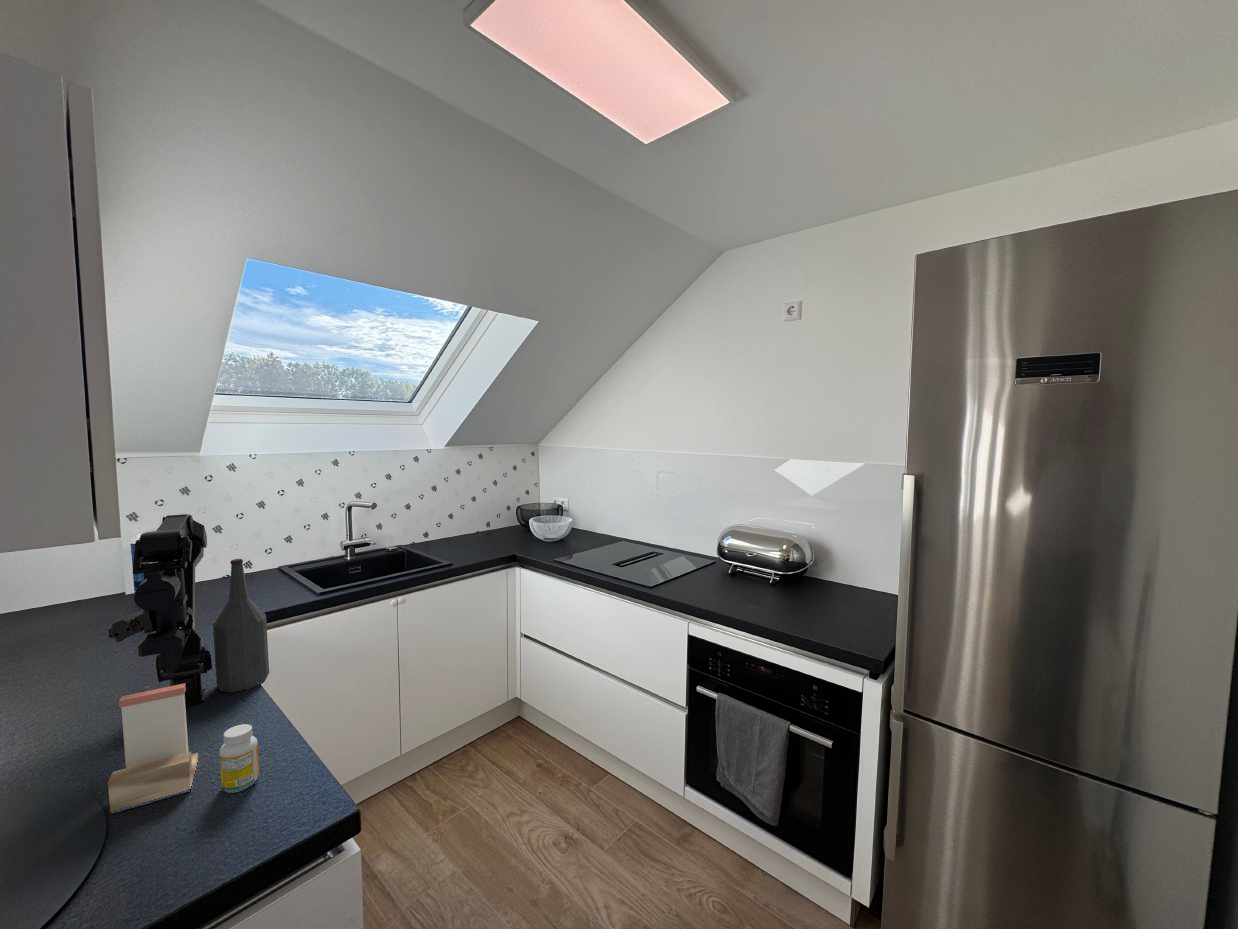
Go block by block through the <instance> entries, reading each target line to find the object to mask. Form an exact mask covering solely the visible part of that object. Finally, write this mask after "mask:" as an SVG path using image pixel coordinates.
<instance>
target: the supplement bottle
mask: <svg viewBox="0 0 1238 929" xmlns="http://www.w3.org/2000/svg"><path fill="white" fill-rule="evenodd" d="M253 734H254V731H253V725H251V724H249V723H248V724H247V723H245V724H238V725H235V726H232V727H230V728H227V729H226V730H225V731H224V732H223V744H222V745H221V747H220V749H219V768H220V769H219V770H220V783H221V784H220V785H221V789H222V788H223V789H225V790H234V789H239V788H242V787H245V786H247V785H248V784H250V783H252V782H254V781H255V780H256V779H257V778H258V776H259V777H260V769H259V768H260V764H259V744H258V739H257V737H255V736H254V735H253Z"/></svg>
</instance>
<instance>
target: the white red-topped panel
mask: <svg viewBox="0 0 1238 929" xmlns="http://www.w3.org/2000/svg"><path fill="white" fill-rule="evenodd" d="M185 691H186V685H185V683H184V684H179V685H174V686H170V687H169V686H165V687H160V688H156V689H151V690H150V689H149V690H145V691H140V692H135V693H132V694H131V693H130V694H126V695H121V696H120V698H119V700H118V703H119V704H118V706H119V708H120V709H121V719H122V720H121V722H122V732H123V734H122V735H123V744H124V745H123V746H124V757H125V758H124V760H125V769H126V768H130V767H133V766H137V765H141V764H145V763H149V762H153V761H157V760H161V759H164V758H168V757H172V756H176V755H180V754H184V753H188V752H189V742H188V740H189V739H188V727H187V712H186V711H187V710H186V706H185Z"/></svg>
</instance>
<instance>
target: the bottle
mask: <svg viewBox="0 0 1238 929" xmlns="http://www.w3.org/2000/svg"><path fill="white" fill-rule="evenodd" d="M229 563H230V565H231V567H230V580H229V581H230V582H229V594H228V601H227V602H226V604H225V605H224V608H223V609H222V610H221V612H220V613H219V615H218V617H217V619H216V620H215V622H214V623H213V625H212V631H213V649H214V650H213V651H214V663H215V664H214V665H215V666H214V667H215V676H216V677H215V678H216V679H215V680H216V688H217V689H219V691H220V692H223V691H228V692H227V693H230V692H233V693H235V692H234V691H239V692H243V691H242V690H245V691H248V690H250V689H253V688H256V687H258V686H261V685H262V684H263V683H265V682H266V680H267V679H268V676H269V674H270V667H269V666H270V664H269V663H270V662H269V660H270V659H269V644H268V642H269V641H268V626H267V625H268V622H267V615H266V613H265V612H264V611H263V610H262V609H261V608H260V607H259V606H258V605H257V604H256V603H255V602H254V601H253V600H252V598H251V597H249V592H248V591H249V590H248V588H247V587H248V586H247V582H246V575H245V571H244V565H243V563H244V559H242V558H234V559H231V561H230V562H229ZM257 682H258V683H259V684H260V685H258V683H257Z"/></svg>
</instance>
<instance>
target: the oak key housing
mask: <svg viewBox="0 0 1238 929" xmlns="http://www.w3.org/2000/svg"><path fill="white" fill-rule="evenodd" d="M198 758H199V752H195V753H192V751H188V753H184V754H180V755H176V756H172V757H168V758H164V759H161V760H157V761H153V762H149V763H145V764H141V765H137V766H133V767H130V768H126V767H125V768H122V769H118V770H115V771H113V772H112V773H111V775H110V777H109V779H108V781H107V784H108V785H107V786H108V788H107V789H108V799H109V812H111V811H114V810H118V809H121V808H124V807H129V806H133V805H137V804H140V803H143V802H148V801H150V800H154V799H158V798H161V797H165V796H168V795H172V794H176V793H179V792H182V791H186V790H188V789H191V786H192V787H193V785H192V782H193V783H194V781H193V778H194V779H195V777H194V774H195V775H196V773H195V770H196V771H197V769H196V766H197V767H198V765H197V762H198V763H199V761H198Z"/></svg>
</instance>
